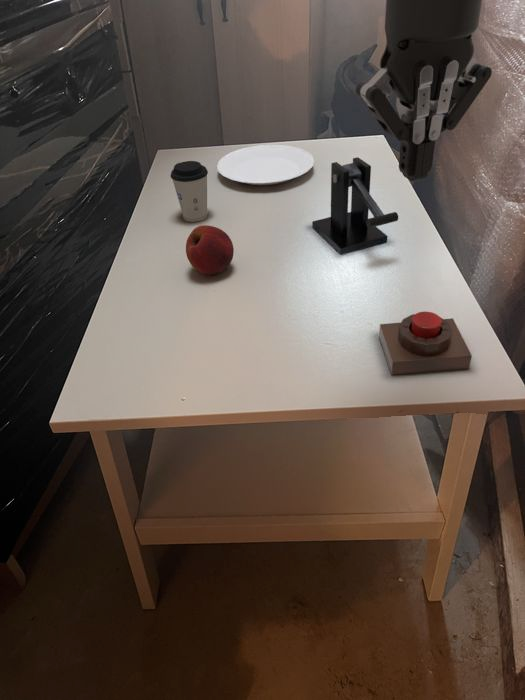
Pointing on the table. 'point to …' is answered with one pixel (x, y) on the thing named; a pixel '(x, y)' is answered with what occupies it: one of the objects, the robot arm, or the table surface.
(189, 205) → the coffee cup
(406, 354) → the control block
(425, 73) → the robot arm
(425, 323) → the button
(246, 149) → the plate
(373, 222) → the black lever
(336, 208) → the lever stand
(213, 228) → the apple
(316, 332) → the table surface
